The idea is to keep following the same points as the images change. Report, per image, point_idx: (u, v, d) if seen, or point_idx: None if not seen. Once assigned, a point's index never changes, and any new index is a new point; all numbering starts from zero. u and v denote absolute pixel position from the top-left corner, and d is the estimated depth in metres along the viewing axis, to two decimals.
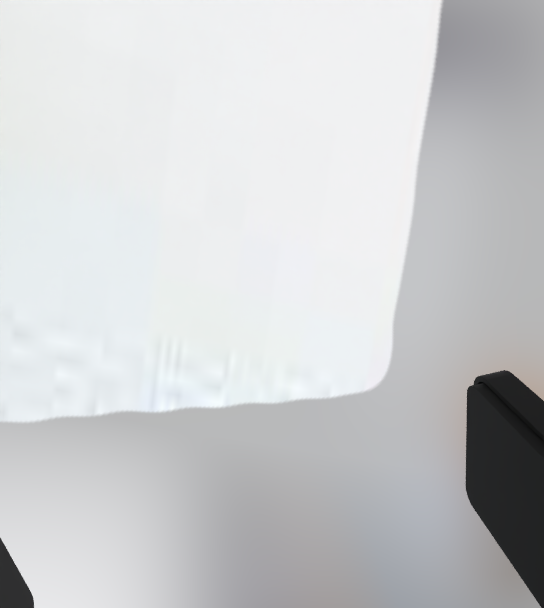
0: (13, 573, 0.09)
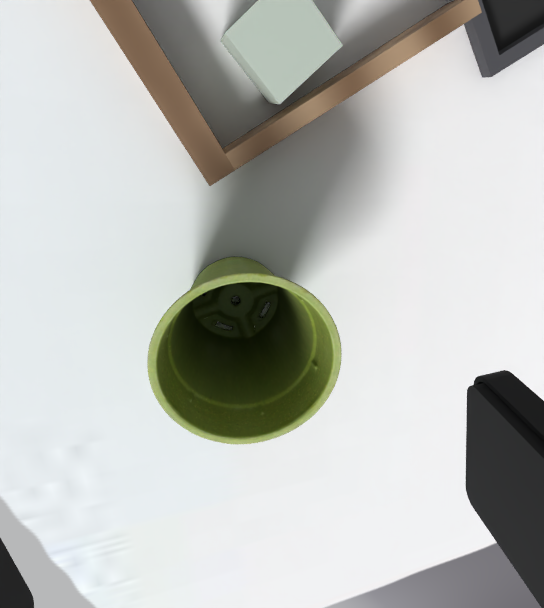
0: (13, 573, 0.09)
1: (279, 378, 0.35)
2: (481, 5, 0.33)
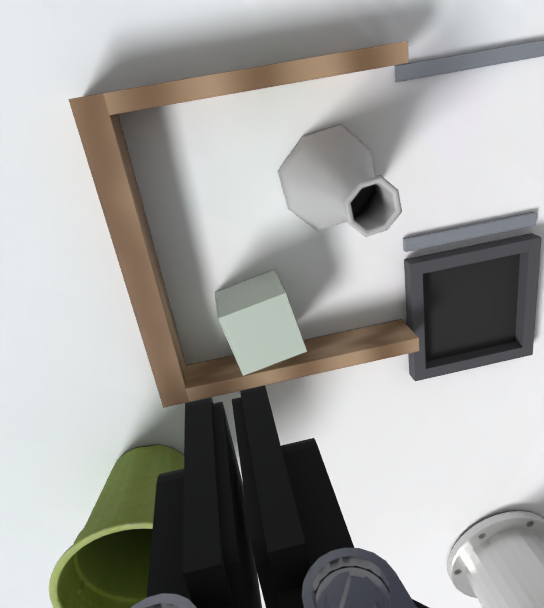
0: (238, 471, 0.10)
1: None
2: (423, 334, 0.41)
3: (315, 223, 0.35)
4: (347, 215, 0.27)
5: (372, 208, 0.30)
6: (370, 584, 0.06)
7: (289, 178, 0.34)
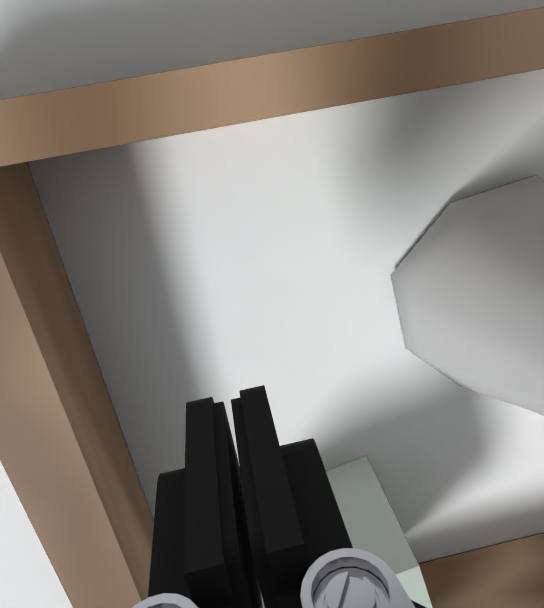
0: (239, 471, 0.10)
1: None
2: None
3: (467, 384, 0.16)
4: None
5: None
6: (369, 585, 0.06)
7: (426, 299, 0.15)
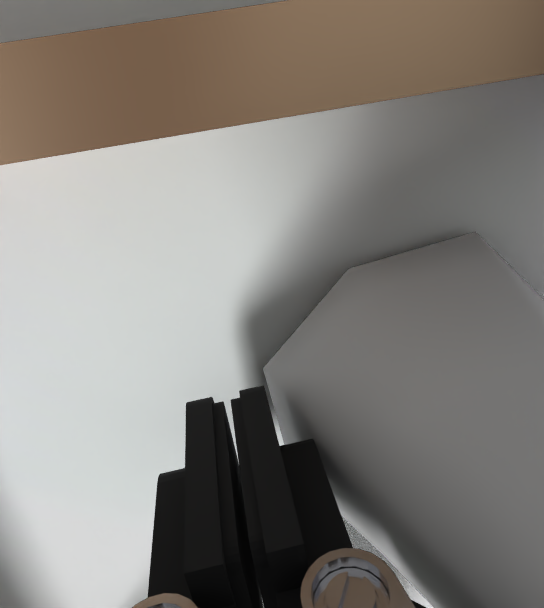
0: (240, 471, 0.10)
1: None
2: None
3: None
4: None
5: None
6: (368, 584, 0.06)
7: (304, 416, 0.10)
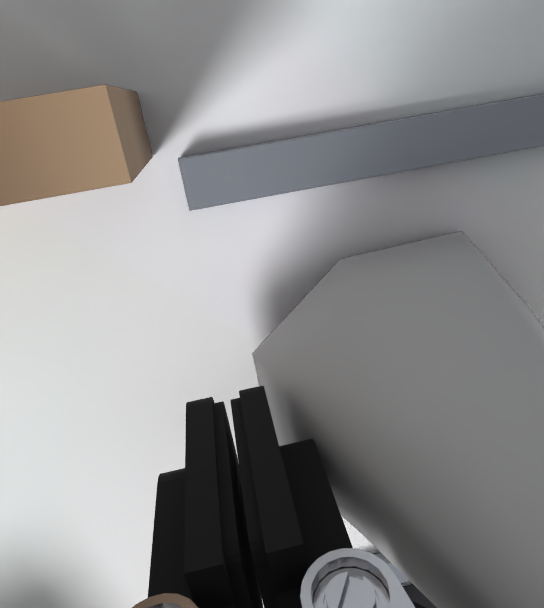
0: (240, 470, 0.10)
1: None
2: None
3: None
4: None
5: None
6: (368, 585, 0.06)
7: (292, 399, 0.10)
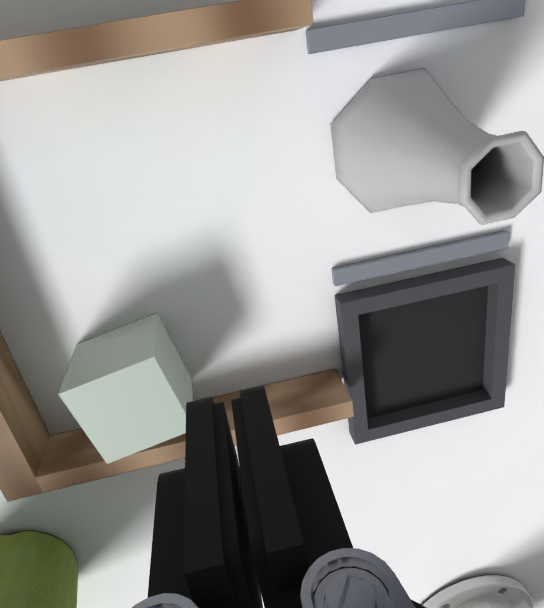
0: (239, 470, 0.10)
1: None
2: (362, 388, 0.31)
3: (372, 202, 0.26)
4: (463, 188, 0.17)
5: (476, 185, 0.21)
6: (368, 585, 0.06)
7: (349, 135, 0.24)
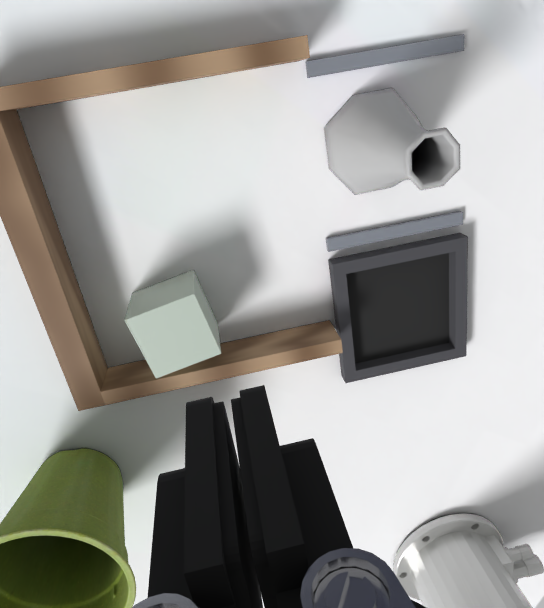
0: (239, 470, 0.10)
1: (85, 583, 0.39)
2: (350, 335, 0.40)
3: (355, 185, 0.35)
4: (406, 165, 0.26)
5: (423, 168, 0.30)
6: (368, 585, 0.06)
7: (337, 135, 0.33)
